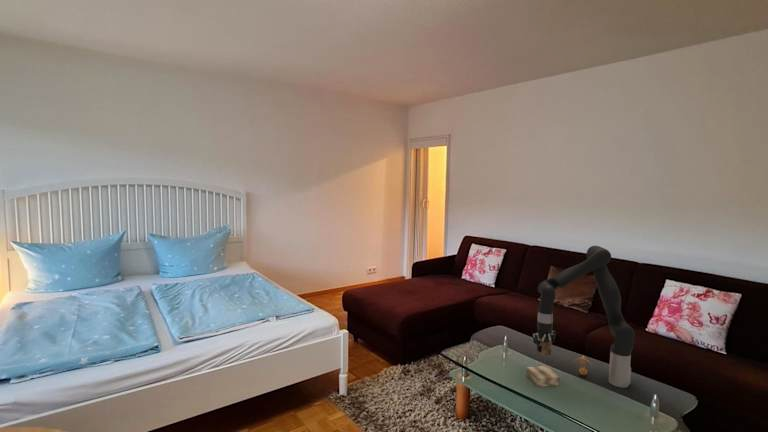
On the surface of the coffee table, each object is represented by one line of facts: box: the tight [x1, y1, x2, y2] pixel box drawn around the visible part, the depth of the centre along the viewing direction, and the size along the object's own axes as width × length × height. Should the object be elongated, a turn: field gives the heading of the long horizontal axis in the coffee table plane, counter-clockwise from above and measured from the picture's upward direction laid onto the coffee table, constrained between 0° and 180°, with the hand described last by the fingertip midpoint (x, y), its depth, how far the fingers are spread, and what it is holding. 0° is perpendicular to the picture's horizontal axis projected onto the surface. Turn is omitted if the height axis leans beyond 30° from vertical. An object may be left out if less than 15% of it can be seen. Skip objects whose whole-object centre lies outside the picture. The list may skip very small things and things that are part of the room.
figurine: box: [574, 354, 593, 376], centre depth 215 cm, size 8×6×12 cm
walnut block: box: [536, 339, 552, 357], centre depth 209 cm, size 5×5×7 cm
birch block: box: [526, 365, 560, 388], centre depth 211 cm, size 12×12×5 cm
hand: (543, 350), depth 210 cm, fingers closed on walnut block, 5 cm apart
